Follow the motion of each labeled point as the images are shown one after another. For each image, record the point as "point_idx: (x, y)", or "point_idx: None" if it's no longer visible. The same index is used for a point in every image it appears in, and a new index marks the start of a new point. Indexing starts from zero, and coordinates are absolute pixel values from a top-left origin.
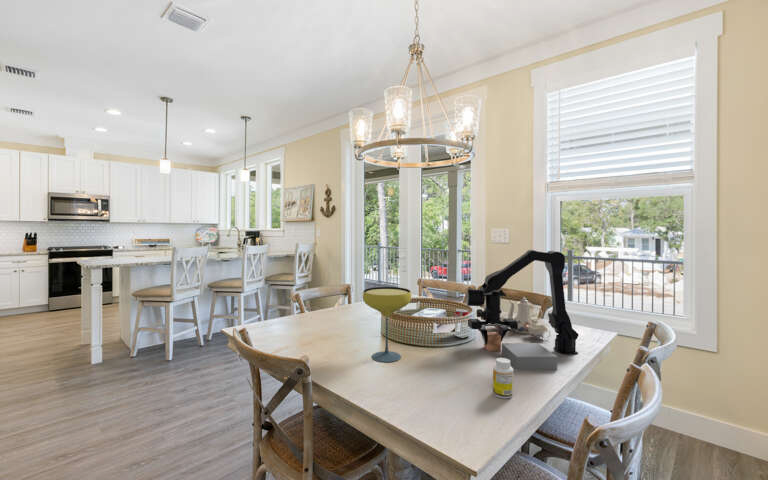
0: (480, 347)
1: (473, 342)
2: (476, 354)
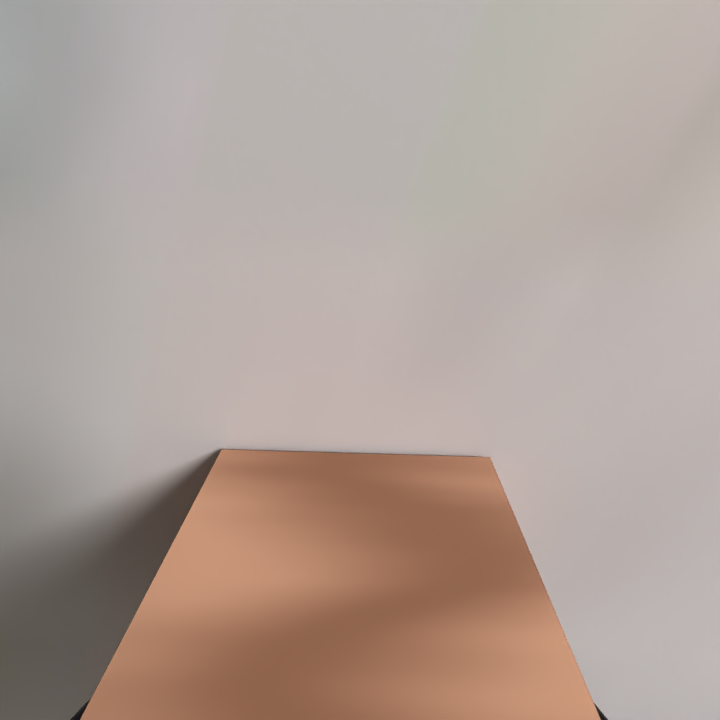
0: (141, 465)
1: (7, 96)
2: (27, 710)
